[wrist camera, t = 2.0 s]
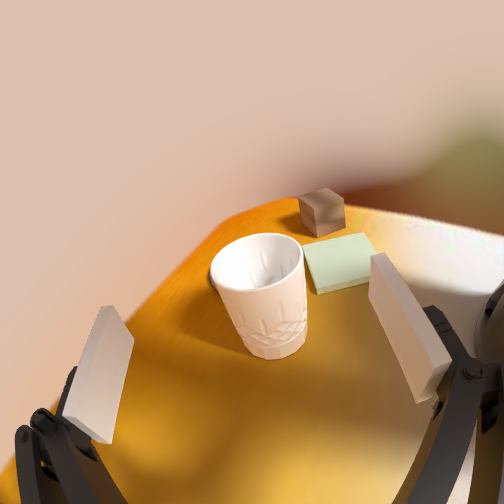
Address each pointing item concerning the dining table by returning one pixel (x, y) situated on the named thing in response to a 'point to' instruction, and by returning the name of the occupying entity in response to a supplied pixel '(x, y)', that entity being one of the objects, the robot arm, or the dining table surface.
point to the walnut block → (322, 212)
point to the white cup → (264, 292)
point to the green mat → (339, 262)
